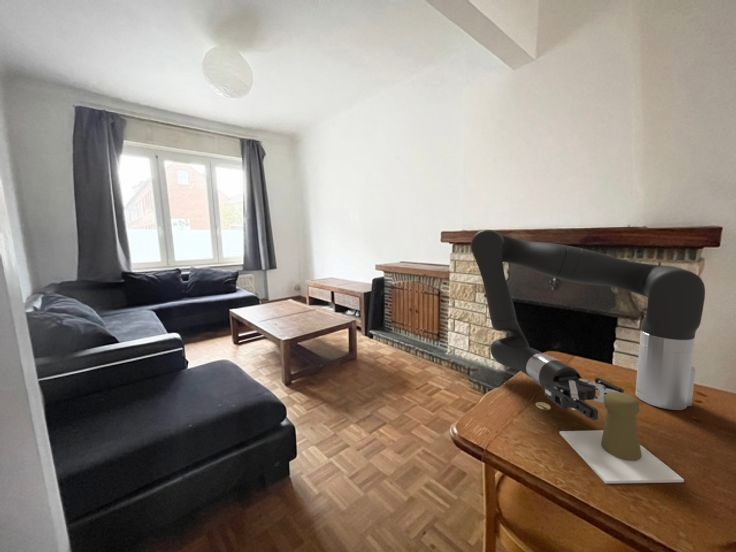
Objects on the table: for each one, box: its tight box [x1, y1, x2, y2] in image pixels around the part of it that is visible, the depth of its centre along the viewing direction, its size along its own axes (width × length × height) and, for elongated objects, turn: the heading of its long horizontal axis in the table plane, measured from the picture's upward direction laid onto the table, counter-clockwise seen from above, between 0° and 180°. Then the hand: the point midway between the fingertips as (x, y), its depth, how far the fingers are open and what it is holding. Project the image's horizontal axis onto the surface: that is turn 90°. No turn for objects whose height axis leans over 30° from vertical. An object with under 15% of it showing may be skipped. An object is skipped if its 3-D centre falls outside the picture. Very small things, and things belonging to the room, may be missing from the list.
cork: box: [601, 392, 642, 460], centre depth 58 cm, size 6×6×11 cm
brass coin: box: [535, 401, 552, 411], centre depth 74 cm, size 3×3×1 cm
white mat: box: [559, 429, 685, 484], centre depth 58 cm, size 13×13×1 cm
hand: (616, 412), depth 57 cm, fingers open, 8 cm apart
